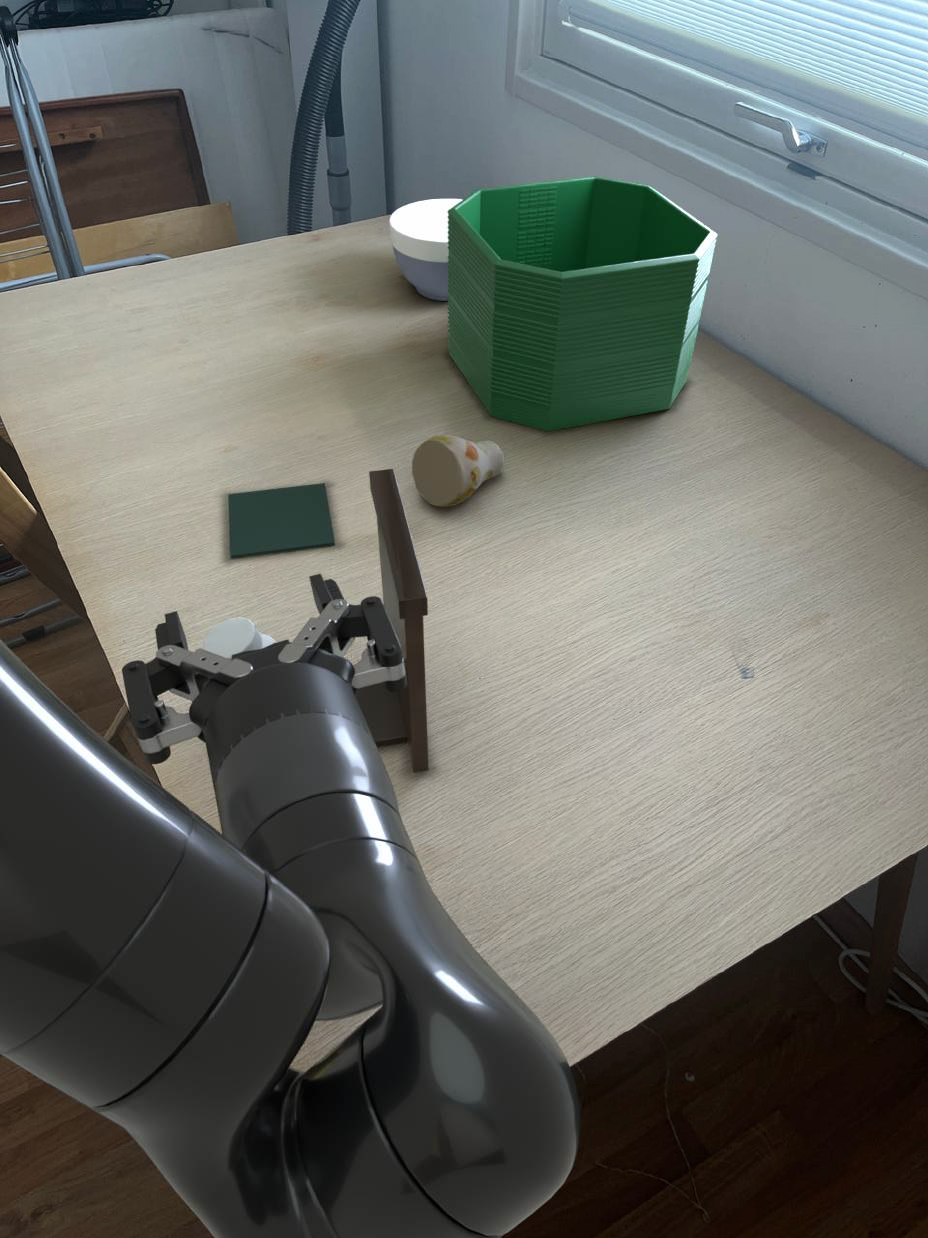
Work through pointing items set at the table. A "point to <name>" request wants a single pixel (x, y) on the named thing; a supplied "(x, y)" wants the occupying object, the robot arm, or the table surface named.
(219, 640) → the supplement bottle
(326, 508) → the rubber mat
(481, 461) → the fruit print bud vase
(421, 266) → the bowl
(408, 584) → the stand
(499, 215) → the planter
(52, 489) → the table surface
